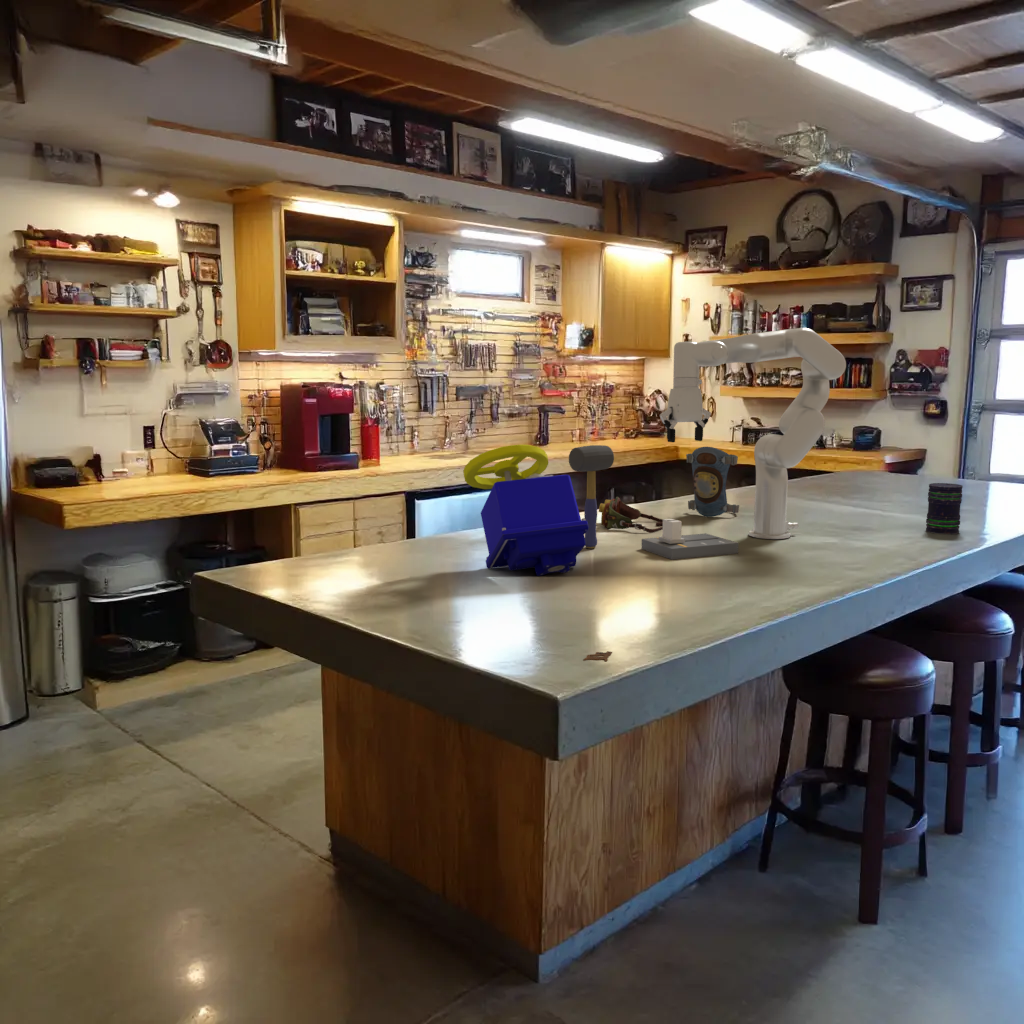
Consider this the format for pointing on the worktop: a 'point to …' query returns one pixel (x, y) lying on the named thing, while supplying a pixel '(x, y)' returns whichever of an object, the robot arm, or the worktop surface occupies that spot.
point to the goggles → (624, 516)
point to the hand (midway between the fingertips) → (685, 441)
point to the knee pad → (710, 481)
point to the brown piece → (606, 655)
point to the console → (691, 546)
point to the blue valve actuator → (527, 512)
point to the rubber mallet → (591, 481)
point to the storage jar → (944, 508)
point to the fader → (671, 531)
